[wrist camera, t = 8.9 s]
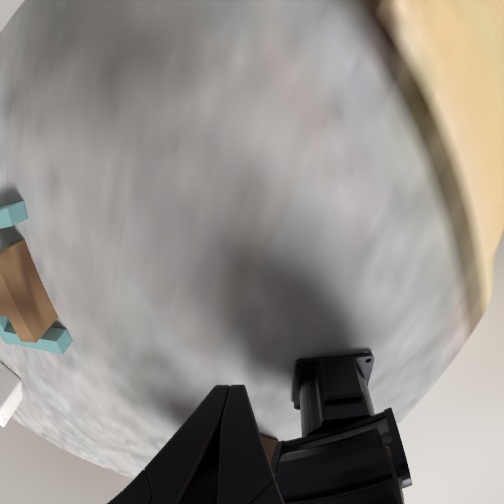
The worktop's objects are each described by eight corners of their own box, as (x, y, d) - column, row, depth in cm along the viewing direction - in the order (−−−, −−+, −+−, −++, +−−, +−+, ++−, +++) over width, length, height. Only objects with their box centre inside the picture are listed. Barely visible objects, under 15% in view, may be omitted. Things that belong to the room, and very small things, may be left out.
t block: (-15, 252, 21) (-40, 268, 17) (24, 238, 20) (-6, 258, 16) (15, 318, 24) (-6, 338, 20) (58, 317, 23) (36, 342, 19)
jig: (73, 343, 24) (63, 356, 22) (13, 332, 25) (4, 342, 23) (22, 197, 18) (7, 204, 17) (-31, 214, 19) (-44, 220, 18)
